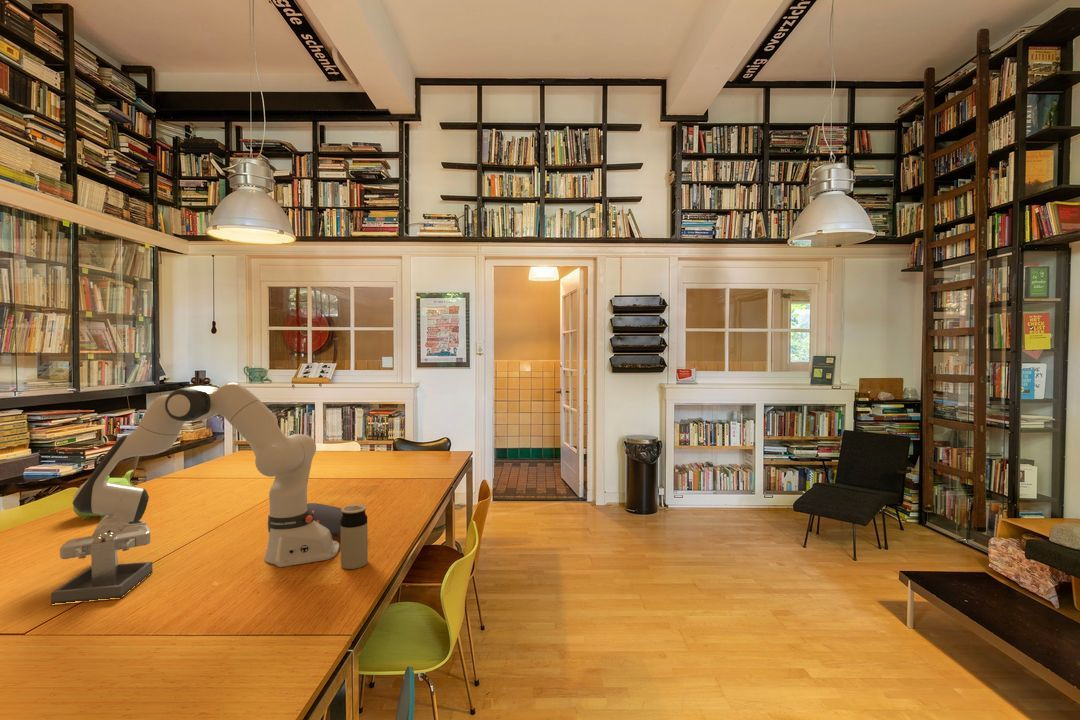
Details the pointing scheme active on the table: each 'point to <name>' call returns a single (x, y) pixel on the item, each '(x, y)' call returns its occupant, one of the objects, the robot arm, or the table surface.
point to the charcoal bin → (84, 591)
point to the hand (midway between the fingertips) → (104, 551)
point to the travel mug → (354, 537)
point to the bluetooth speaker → (327, 516)
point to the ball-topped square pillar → (104, 560)
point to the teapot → (112, 480)
